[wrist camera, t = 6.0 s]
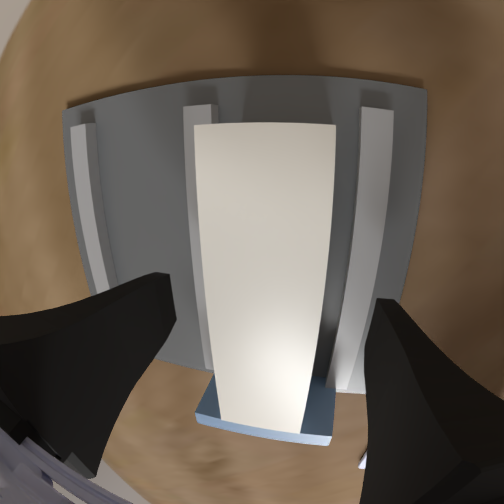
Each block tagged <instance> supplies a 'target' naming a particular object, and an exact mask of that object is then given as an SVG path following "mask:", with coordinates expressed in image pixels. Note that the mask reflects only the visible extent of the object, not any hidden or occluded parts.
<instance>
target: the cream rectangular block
mask: <svg viewBox="0 0 504 504" xmlns="http://www.w3.org/2000/svg"><path fill="white" fill-rule="evenodd" d="M194 142H195V166H196V186H197V202H198V218H199V231H200V244H201V256H202V268H203V278H204V289H205V298H206V308H207V317H208V326H209V334H210V343H211V351H212V358H213V366H214V373H215V381H216V388H217V394H218V401H219V408H220V414H221V420H224V421H228V422H233V423H237V424H242V425H247V426H252V427H258V428H263V429H269V430H275V431H282V432H289V433H297V434H300V430H301V425H302V421H303V416H304V411H305V407H306V402H307V397H308V391H309V386H310V381H311V375H312V370H313V364H314V358H315V352H316V346H317V340H318V333H319V326H320V320H321V312H322V305H323V297H324V289H325V281H326V272H327V263H328V254H329V243H330V232H331V220H332V207H333V191H334V173H335V148H336V125H328V124H311V123H277V122H254V123H220V124H203V125H194Z"/></svg>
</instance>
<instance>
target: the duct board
mask: <svg viewBox="0 0 504 504" xmlns="http://www.w3.org/2000/svg"><path fill="white" fill-rule="evenodd" d="M62 119H63V139H64V153H65V164H66V173H67V181H68V189H69V196H70V203H71V209H72V215H73V220H74V226H75V231H76V236H77V241H78V246H79V250H80V254H81V259H82V263H83V267H84V271H85V275H86V279H87V282H88V286H89V290H90V293H91V296H93V295H96V294H99V293H101V292H104V291H106V290H109V289H111V288H114V287H116V286H119V285H121V284H123V283H126V282H128V281H131V280H133V279H136V278H138V277H141V276H144V275H146V274H150V273H153V272H160V273H167V274H170V279H171V286H172V293H173V299H174V305H175V311H176V317H177V321H176V323H175V325H174V327H173V329H172V331H171V333H170V335H169V337H168V338H167V340H166V342H165V343H164V345H163V346H162V348H161V349H160V351H159V352H158V353H157V355H156V356H155V359H158V360H162V361H165V362H169V363H173V364H177V365H181V366H185V367H189V368H193V369H197V370H201V371H206V372H210V373H214V366H213V358H212V351H211V343H210V334H209V326H208V317H207V308H206V298H205V289H204V278H203V268H202V256H201V244H200V231H199V218H198V202H197V186H196V166H195V142H194V125H203V124H220V123H254V122H277V123H311V124H328V125H336V148H335V173H334V191H333V207H332V220H331V232H330V243H329V254H328V263H327V272H326V281H325V289H324V297H323V305H322V312H321V320H320V326H319V333H318V340H317V346H316V352H315V358H314V364H313V370H312V375H311V381H310V386H309V391H308V397H307V402H306V407H305V411H304V416H303V421H302V425H301V430H300V434H297V433H289V432H282V431H275V430H269V429H263V428H258V427H252V426H247V425H242V424H237V423H233V422H228V421H224V420H221V414H220V408H219V401H218V394H217V388H216V381H215V373H214V375H213V377H212V379H211V381H210V383H209V385H208V387H207V389H206V391H205V393H204V395H203V397H202V399H201V401H200V403H199V405H198V407H197V409H196V411H195V415H196V419H197V423H201V424H204V425H208V426H212V427H216V428H220V429H224V430H229V431H233V432H238V433H242V434H247V435H252V436H258V437H263V438H269V439H275V440H281V441H288V442H296V443H304V444H313V445H324V446H328V445H329V443H330V440H331V438H332V431H333V420H334V408H335V394H336V392H344V393H359V394H366V390H365V378H364V346H365V342H366V339H367V335H368V331H369V327H370V324H371V320H372V316H373V312H374V308H375V303H376V299H377V298H385V299H394V300H395V301H396V302H397V303H398V304H399V302H400V298H401V295H402V291H403V287H404V283H405V279H406V274H407V270H408V266H409V261H410V256H411V252H412V247H413V242H414V236H415V231H416V225H417V219H418V212H419V206H420V198H421V191H422V182H423V173H424V162H425V149H426V131H427V90H426V89H421V88H416V87H411V86H406V85H400V84H394V83H387V82H380V81H373V80H364V79H355V78H344V77H330V76H310V75H260V76H239V77H226V78H215V79H205V80H196V81H189V82H182V83H175V84H169V85H163V86H157V87H151V88H146V89H141V90H136V91H132V92H127V93H123V94H119V95H115V96H111V97H107V98H103V99H99V100H96V101H92V102H88V103H85V104H82V105H78V106H75V107H72V108H69V109H66V110H63V111H62Z"/></svg>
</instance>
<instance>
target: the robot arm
mask: <svg viewBox="0 0 504 504" xmlns="http://www.w3.org/2000/svg"><path fill="white" fill-rule="evenodd" d="M176 321H177V317H176V311H175V305H174V299H173V293H172V286H171V279H170V274H167V273H160V272H153V273H150V274H146V275H144V276H141V277H138V278H136V279H133V280H131V281H128V282H126V283H123V284H121V285H119V286H116V287H114V288H111V289H109V290H106V291H104V292H101V293H99V294H96V295H93V296H91V297H88V298H85V299H83V300H80V301H77V302H74V303H71V304H67V305H64V306H60V307H57V308H53V309H48V310H43V311H38V312H34V313H28V314H21V315H11V316H0V504H74V503H73V502H71V501H70V500H69V499H67V498H66V497H65V496H63V495H62V494H61V493H59V492H58V491H57V490H55V489H54V488H53V482H52V480H53V481H55V482H56V483H57V484H59V485H60V486H61V487H63V488H64V489H66V490H67V491H69V492H70V493H72V494H73V495H75V496H76V497H78V498H79V499H81V500H82V501H84V502H85V503H87V504H133V503H131V502H128V501H127V500H124V499H122V498H120V497H118V496H117V495H115V494H113V493H111V492H109V491H107V490H105V489H103V488H102V487H100V486H98V485H96V484H95V483H93V482H91V481H90V480H88V479H91V478H94V477H96V475H97V470H98V467H99V464H100V461H101V458H102V455H103V452H104V449H105V446H106V444H107V441H108V439H109V436H110V434H111V431H112V429H113V427H114V424H115V422H116V420H117V418H118V416H119V414H120V412H121V410H122V408H123V406H124V404H125V402H126V400H127V398H128V396H129V394H130V392H131V391H132V389H133V388H134V386H135V384H136V383H137V381H138V380H139V379H140V377H141V376H142V374H143V373H144V372H145V370H146V369H147V367H148V366H149V365H150V363H151V362H152V360H153V359H154V358H155V356H156V355H157V353H158V352H159V351H160V349H161V348H162V346H163V345H164V343H165V342H166V340H167V338H168V337H169V335H170V333H171V331H172V329H173V327H174V325H175V323H176ZM364 378H365V390H366V402H367V415H368V446H367V451H366V453H365V454H364V456H363V457H362V459H361V460H360V462H359V463H358V468H360V469H365V474H364V481H363V487H362V493H361V498H360V503H359V504H504V400H502V399H501V398H499V397H497V396H496V395H494V394H493V393H491V392H490V391H488V390H487V389H486V388H484V387H483V386H482V385H480V384H479V383H477V382H476V381H475V380H473V379H472V378H471V377H470V376H468V375H467V374H466V373H465V372H464V371H463V370H461V369H460V368H459V367H458V366H457V365H456V364H454V363H453V362H452V361H451V360H450V359H449V358H448V357H447V356H446V355H445V354H444V353H443V352H442V351H441V350H440V349H439V348H438V347H437V346H436V345H435V344H434V343H433V342H432V341H431V340H430V339H429V338H428V337H427V335H426V334H425V333H424V332H423V331H422V330H421V329H420V328H419V327H418V325H417V324H416V323H415V322H414V321H413V320H412V318H411V317H410V316H409V315H408V314H407V313H406V312H405V310H404V309H403V308H402V307H401V306H400V305H399V304H398V303H397V302H396V301H395V300H394V299H385V298H377V299H376V303H375V308H374V312H373V316H372V320H371V324H370V327H369V331H368V335H367V339H366V342H365V346H364ZM54 457H55V458H54ZM51 479H52V480H51Z"/></svg>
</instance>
